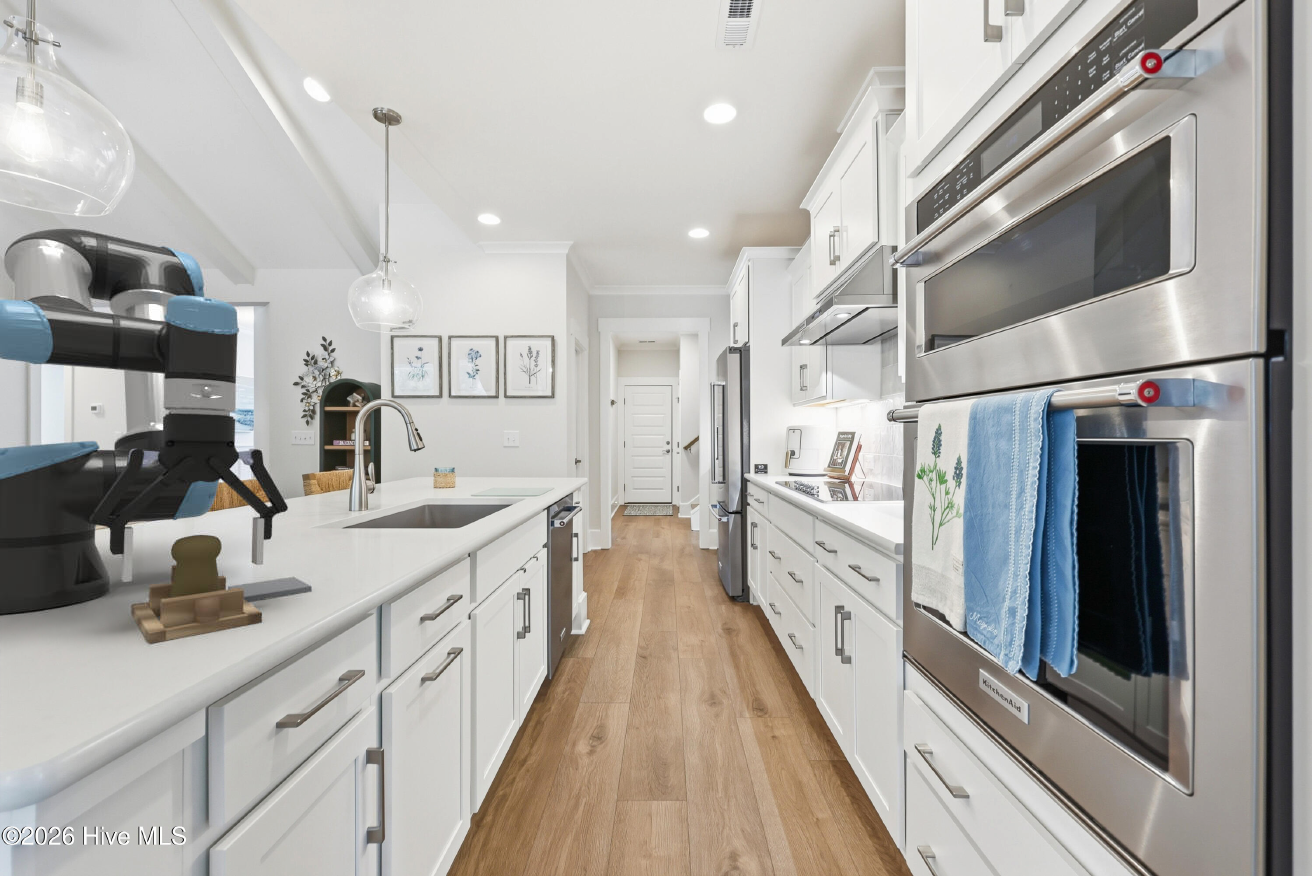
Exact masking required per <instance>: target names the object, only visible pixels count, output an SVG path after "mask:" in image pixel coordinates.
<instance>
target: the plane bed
mask: <svg viewBox="0 0 1312 876" xmlns="http://www.w3.org/2000/svg"><path fill="white" fill-rule="evenodd" d="M175 568H176V564H175V565H171V570H170V571H171V573H170V582H165V583H157V584H150V585H148V587H149V591H148V601H147V602H141V603H133V604H131V607H130V608H131V612H130V614H131V613H132V614H131V616H132V615H133V616H132V617H133V619H134V618H135V619H134V621H135V620H136V621H135V623H136V622H137V623H136V624H137V626H138V625H139V626H138V628H139V629H141V630H140V631H141V633H142V632H143V633H142V635H143V637H144V636H145V637H144V638H145V640H146V642H147V641H148V642H147V644H148V643H151V644H155V643H161V642H165V641H171V640H170V639H172V640H176V639H177V640H178V639H180V638H186V637H187V638H188V637H192V636H197V635H201V634H202V635H203V634H207V633H212V632H217V631H222V630H227V629H233V628H234V629H235V628H238V627H243V626H249V625H254V624H259V623H262V621H263V612H261V611H260V610H259V609H258V608H256V607H254V605H252V604H251V603H249V602H247V601H245V600H244V590H243V589H241V588H234V589H228V588H227V577H226V576H224V575H218V577H219V584H220V591H214V592H208V593H201V594H194V595H188V596H181V597H174V598H170V594H171V589H172V584H173V579H174V574H175ZM226 588H227V589H226ZM157 616H160V618H159V617H157ZM159 619H160V620H159Z"/></svg>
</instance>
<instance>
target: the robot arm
mask: <svg viewBox="0 0 1312 876" xmlns="http://www.w3.org/2000/svg"><path fill="white" fill-rule="evenodd" d="M4 253H5V254H4V260H3V261H4V262H3V263H4V269H5V272H6V274H7V275H8V277H9V278H10V280H11V281H12V282H13V283H14V285H13V286H14V300H13V299H0V359H2V360H5V361H6V360H7V361H16V362H26V363H30V364H32V365H54V366H55V365H57V366H68V367H79V368H92V369H94V368H95V369H107V370H108V369H109V370H117V371H118V370H119V371H124V373H123V374H124V394H125V395H124V398H125V399H124V400H125V421H126V423H125V424H126V433H125V434H123V435H122V436H121V435H120V436H119V438H117V439H116V440H115V441H114V446H113V447H114V449H100V445H99V444H98V442H97V441H95V440H89V441H88V440H87V441H86V440H85V441H75V442H74V441H73V442H72V441H71V442H60V443H47V444H35V445H23V446H10V447H9V446H8V447H0V615H1V614H12V613H23V612H31V611H38V610H44V609H50V608H57V607H62V606H66V605H72V604H77V603H81V602H85V601H89V600H93V599H96V598H99V597H102V596H104V595H106V594H107V593H109V592H110V581H111V578H110V575H109V572H108V570H107V568H106V566H105V563H104V561H103V558H102V556H101V555H100V551H99V550H98V547H97V546H96V526H100V527H107V528H109V533H110V534H109V551H110V553H111V554H112V555H113V556H115V555H121V569H120V570H121V572H120V577H121V578H120V579H121V580H122V582H123V583H127V582H132V581H133V558H134V557H133V555H134V554H133V552H134V551H133V550H134V527H132V526H131V525H130V526H129V525H128V524H129V523H138V522H152V521H153V522H154V521H167V520H168V521H169V520H170V521H171V520H172V521H177V520H179V519H188V518H198V517H201V516H203V515H206V514H207V513H208V512H209V511H210V510H211V508H212V506H213V504H214V501H215V498H216V495H217V490H218V487H219V481H220V480H221V481H222V482H224V483H225V485H227V486H228V487H230V489H231V490H233V491H234V492H235V493H236V494H237V495H238V496H239V497H240V498H241V499H242V500H243V501H244V502H245V503H247V504H248V505H249V506H250V507H251V508H252V509H253V510H254V511H255V512H256V513H258V514H259V516H255V517H252V531H251V532H252V533H251V534H252V535H251V563H252V564H254V565H256V566H261V565H264V541H268V540H271V539H272V536H273V518H274V517H275V516H276V515H278V514H281V513H285V512H286V511H288V508H289V507H288V503H287V502H286V501H285V499H284V498H283V496H282V494H281V492H280V490H279V489H278V487H277V486H276V484H275V482H274V480H273V479H272V477H271V475H270V473H269V472H268V470H267V467H265V464H264V457H263V452H262V450H261V449H257V448H256V449H253V448H252V449H249V450H245V451H244V450H242V451H238V450H237V448H236V445H235V443H236V441H235V440H236V418H234V416H232V415H231V413H234V412H236V402H237V401H236V400H237V399H236V392H237V391H236V383H237V359H238V333H239V332H240V328H239V327H238V326H239V325H238V311H237V309H236V308H235V306H233V304H230V303H229V302H226V301H224V300H221V299H216V298H210V297H205V292H204V287H205V284H204V282H205V281H204V277H203V274H202V273H203V272H202V270H201V267H200V264H199V262H198V261H197V260H196V259H195V257H194V256H192V255H191V254H189V253H187V252H183V251H179V250H175V249H172V248H171V247H168V246H157V245H151V244H147V243H143V242H140V241H134V240H129V239H125V238H120V237H117V236H113V235H112V236H111V235H108V234H102V233H99V232H94V231H90V230H85V229H77V228H55V229H53V228H52V229H45V230H40V231H39V230H38V231H35V232H31V233H29V234H26V235H23V236H21V237H19V238H17V239H16V240H13V242H12V243H11V244H10V245H9V246H8V247H7V249H6V251H5V252H4ZM92 300H99V301H100V300H101V301H107V302H109V309H110V311H111V313H109V312H103V311H102V312H101V311H94V307H93V303H92ZM239 460H241V461H242V463H243V464H244V465H246V466H249V468H250V470H251V472H252V474H253V475H254V477H255V479H256V481H257V483H258V484H259V486H260V488H261V489H262V491H263V493H264V494H265V496H266V498H267V499H268V501H269V503H270V505H269V506H268V505H267V504H266V503H265V502H264V501H263V500H262V499H261V498H260V497H259V496H257V494H256V493H255V492H253V491H252V490H251V489H250V488H249V487H248V486H247V485H246V484H245V483H244V482H243V481H242V480H241V479H240V478H239V476H237V474H235V472H233V471H232V470H231V468H232V467H233V466H234V465H235V464H236V463H237V462H238V461H239ZM126 525H127V526H126Z"/></svg>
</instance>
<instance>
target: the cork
mask: <svg viewBox="0 0 1312 876" xmlns="http://www.w3.org/2000/svg"><path fill="white" fill-rule="evenodd" d="M222 547H223V546H222V542H221V539H220V538H219V537H217V536H216V535H209V534H196V535H190V536H189V535H188V536H185V537H181V538H179V539H178V538H177V540H175V541H174V543H173V544H172V545H171V551H170V552H171V553H170V555H171V557H172V559H173V560H174V561H175V562H176V564H175V565H176V568H175V574H174V579H173V584H172V589H171V594H170V598H174V597H181V596H188V595H194V594H201V593H208V592H214V591H220V584H219V577H218V576H219V570H218V566H217V565H218V564H217V558H218V557H219V556H220V554H221V551H222Z"/></svg>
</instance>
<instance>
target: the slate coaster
mask: <svg viewBox="0 0 1312 876" xmlns="http://www.w3.org/2000/svg"><path fill="white" fill-rule="evenodd" d="M234 588H241V589H243V590H244V600H245V601H247V602H248V603H249V602H255V601H262V600H267V598H268V599H272V598H271V597H274V598H278V597H284V596H290V594H292V595H296V594H303V592H304V593H308V591H310V592H312V585H310V584H308V583H306V582H304V581H303V580H301V579H299V578H297V577H295V576H291V577H284V578H276V579H270V580H263V581H256V582H251V583H243V584H234V585H229V586H227V590H228V589H234ZM261 599H262V600H261Z"/></svg>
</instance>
